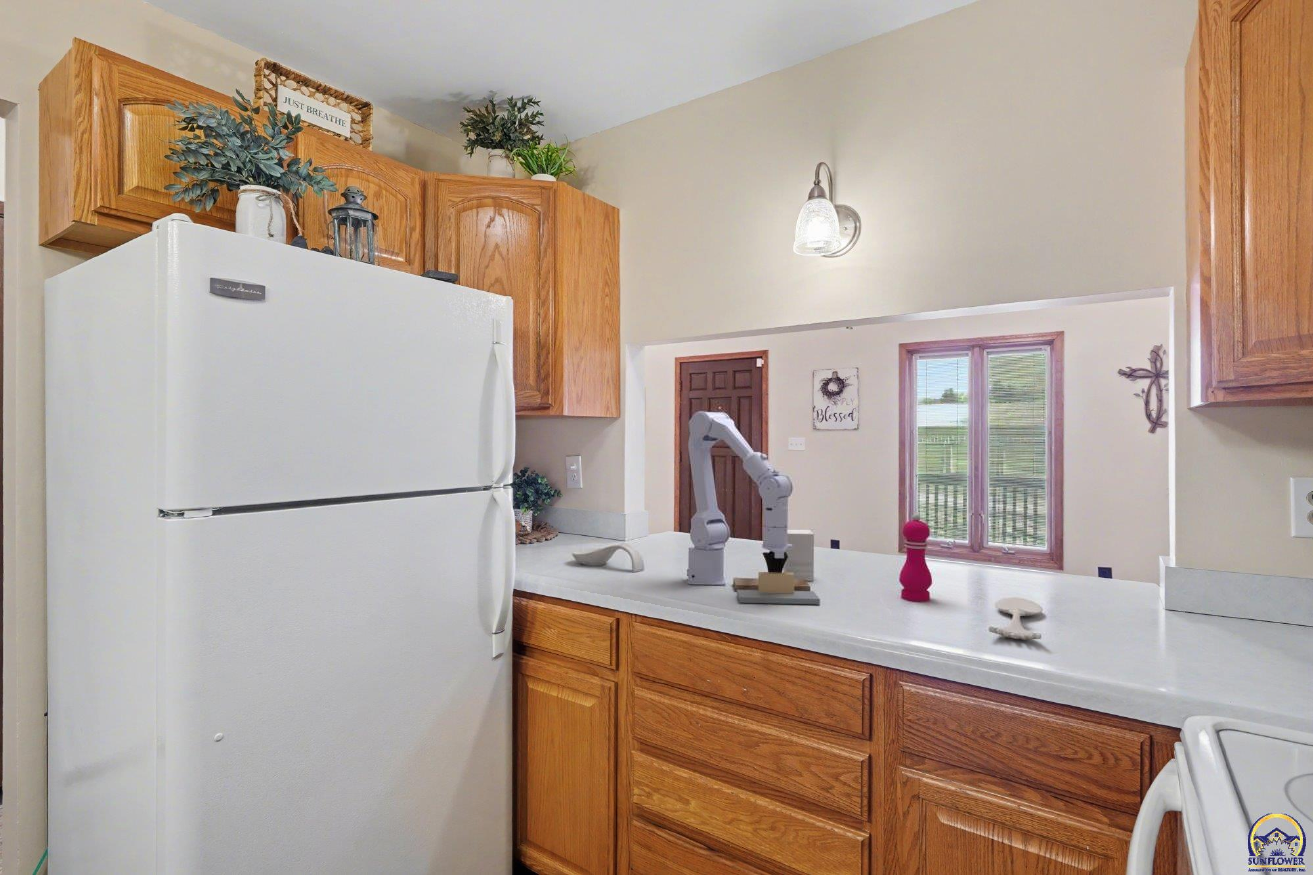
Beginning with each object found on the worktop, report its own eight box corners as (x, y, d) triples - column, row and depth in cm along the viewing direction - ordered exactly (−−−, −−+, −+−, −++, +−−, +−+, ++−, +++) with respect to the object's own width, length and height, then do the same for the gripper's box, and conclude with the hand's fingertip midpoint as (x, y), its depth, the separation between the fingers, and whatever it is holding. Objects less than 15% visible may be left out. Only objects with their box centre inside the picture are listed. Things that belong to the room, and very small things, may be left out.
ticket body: (735, 591, 159) (735, 584, 159) (733, 584, 167) (733, 577, 167) (810, 593, 158) (810, 586, 158) (804, 585, 166) (804, 578, 166)
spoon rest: (563, 564, 191) (564, 540, 191) (590, 558, 201) (591, 535, 201) (627, 575, 177) (627, 549, 177) (652, 568, 187) (653, 543, 187)
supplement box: (810, 575, 178) (810, 529, 178) (813, 581, 171) (814, 533, 171) (782, 574, 179) (783, 528, 179) (785, 580, 172) (785, 532, 172)
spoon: (986, 643, 122) (986, 625, 122) (996, 605, 149) (996, 590, 149) (1042, 652, 117) (1043, 633, 117) (1042, 611, 145) (1042, 596, 145)
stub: (739, 602, 148) (739, 577, 148) (736, 594, 155) (737, 571, 155) (819, 604, 147) (820, 579, 147) (813, 596, 154) (813, 572, 154)
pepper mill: (897, 599, 153) (897, 514, 153) (901, 593, 159) (902, 511, 159) (930, 603, 149) (931, 516, 149) (933, 597, 156) (934, 513, 156)
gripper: (797, 530, 148) (797, 590, 148) (787, 522, 163) (786, 576, 163) (766, 530, 149) (765, 590, 149) (759, 521, 163) (758, 576, 163)
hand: (774, 583), depth 156 cm, fingers closed
